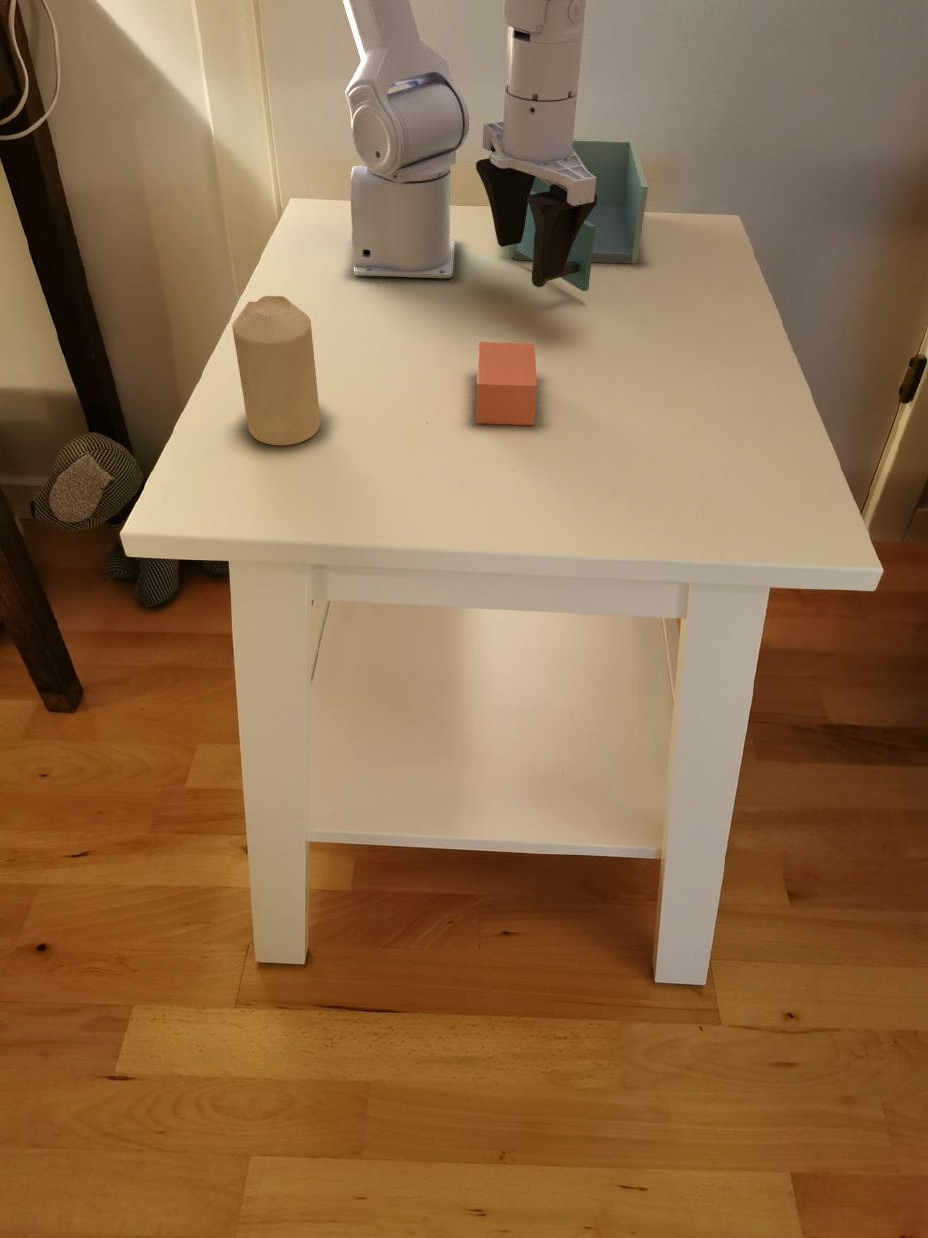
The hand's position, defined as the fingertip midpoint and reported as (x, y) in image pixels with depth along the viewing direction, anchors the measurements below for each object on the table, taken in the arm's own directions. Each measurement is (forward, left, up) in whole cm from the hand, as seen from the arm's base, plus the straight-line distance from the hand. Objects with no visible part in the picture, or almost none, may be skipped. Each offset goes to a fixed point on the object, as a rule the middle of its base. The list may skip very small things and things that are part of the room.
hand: (529, 258), depth 86 cm
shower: (+5, +17, -5) cm, 18 cm away
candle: (-19, -20, -5) cm, 28 cm away
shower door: (0, +4, -4) cm, 6 cm away
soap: (-2, -16, -5) cm, 17 cm away
